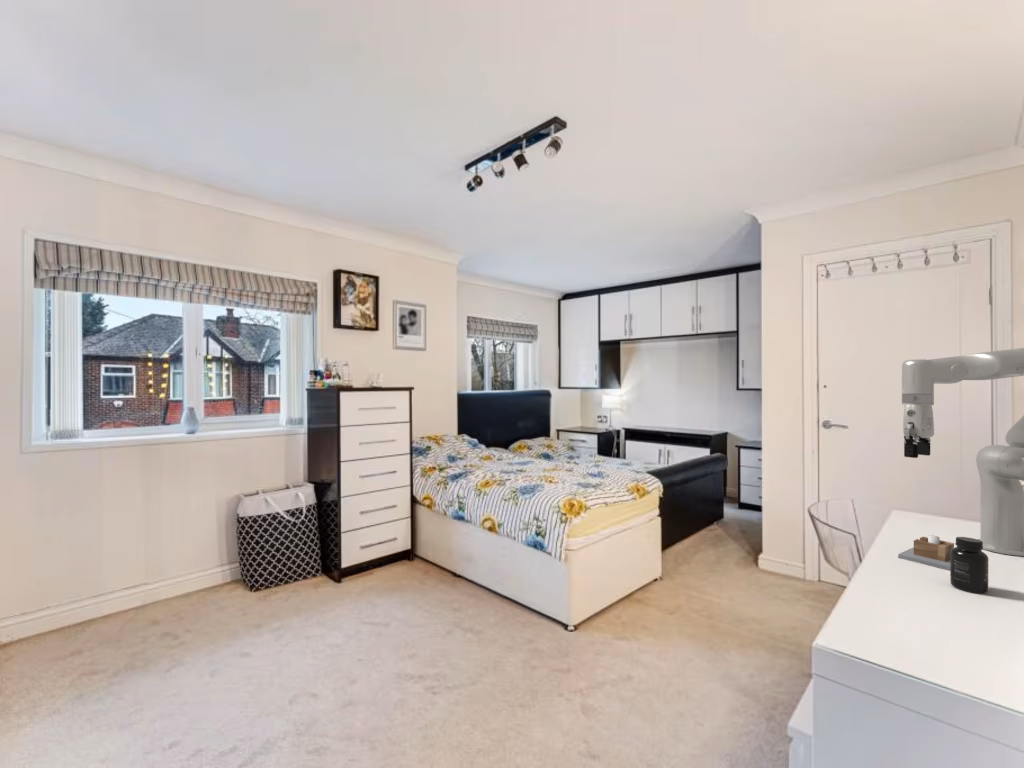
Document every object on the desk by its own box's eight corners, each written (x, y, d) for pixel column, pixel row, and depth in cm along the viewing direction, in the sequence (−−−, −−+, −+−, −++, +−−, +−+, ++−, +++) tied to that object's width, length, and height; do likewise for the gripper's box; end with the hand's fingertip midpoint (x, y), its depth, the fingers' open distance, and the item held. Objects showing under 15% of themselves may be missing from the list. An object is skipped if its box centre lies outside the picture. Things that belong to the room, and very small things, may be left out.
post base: (917, 549, 147) (917, 527, 147) (969, 561, 137) (969, 538, 137) (898, 557, 140) (898, 535, 140) (952, 571, 130) (952, 546, 130)
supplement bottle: (996, 595, 115) (996, 544, 115) (962, 592, 116) (962, 542, 116) (974, 583, 121) (975, 536, 121) (943, 581, 123) (943, 534, 123)
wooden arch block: (944, 561, 134) (945, 547, 134) (913, 554, 140) (913, 540, 140) (953, 557, 137) (953, 543, 137) (923, 550, 143) (923, 536, 143)
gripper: (922, 400, 140) (921, 460, 140) (943, 400, 149) (943, 455, 149) (890, 400, 146) (890, 456, 146) (913, 399, 155) (913, 452, 155)
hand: (917, 456), depth 147 cm, fingers open, 9 cm apart
